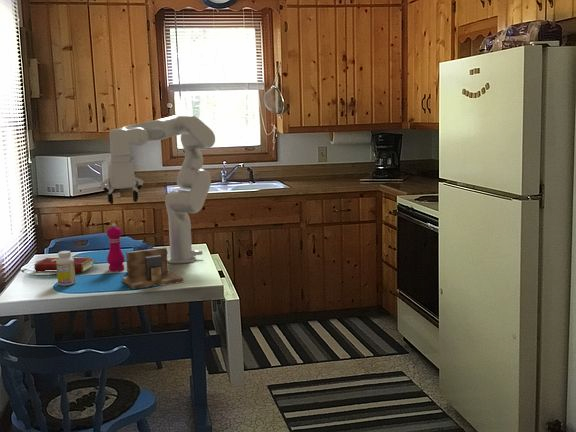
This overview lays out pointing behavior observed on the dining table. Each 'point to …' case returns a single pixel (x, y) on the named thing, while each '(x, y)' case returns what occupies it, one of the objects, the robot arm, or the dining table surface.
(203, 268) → the dining table surface
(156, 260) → the bracket
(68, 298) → the dining table surface
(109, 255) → the pepper mill
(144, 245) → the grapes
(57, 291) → the dining table surface
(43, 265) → the hardcover book
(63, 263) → the supplement bottle
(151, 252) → the wooden desk organizer
